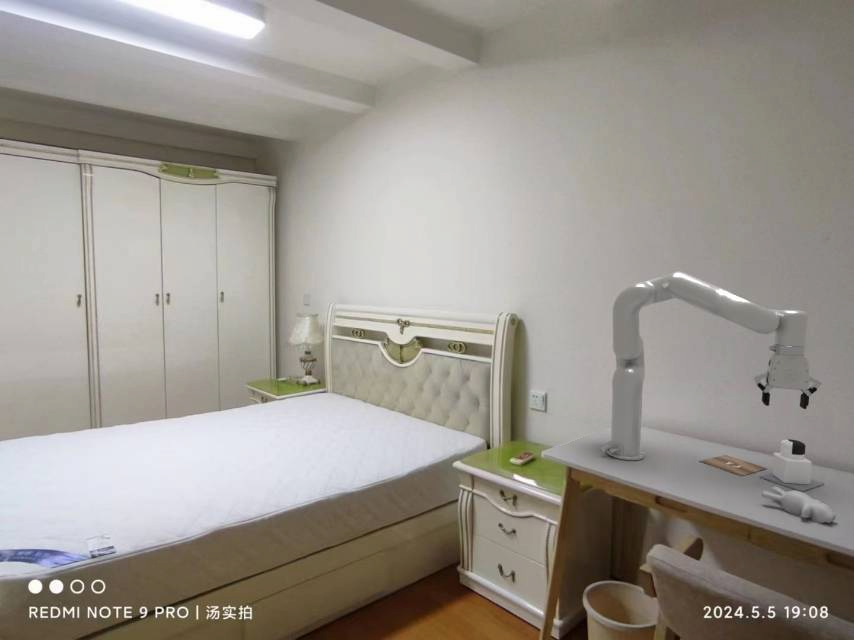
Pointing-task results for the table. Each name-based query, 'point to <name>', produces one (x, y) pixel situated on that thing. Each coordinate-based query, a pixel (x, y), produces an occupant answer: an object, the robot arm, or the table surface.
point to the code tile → (733, 465)
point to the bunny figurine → (802, 505)
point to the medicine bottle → (792, 463)
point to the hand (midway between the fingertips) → (784, 406)
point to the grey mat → (793, 486)
